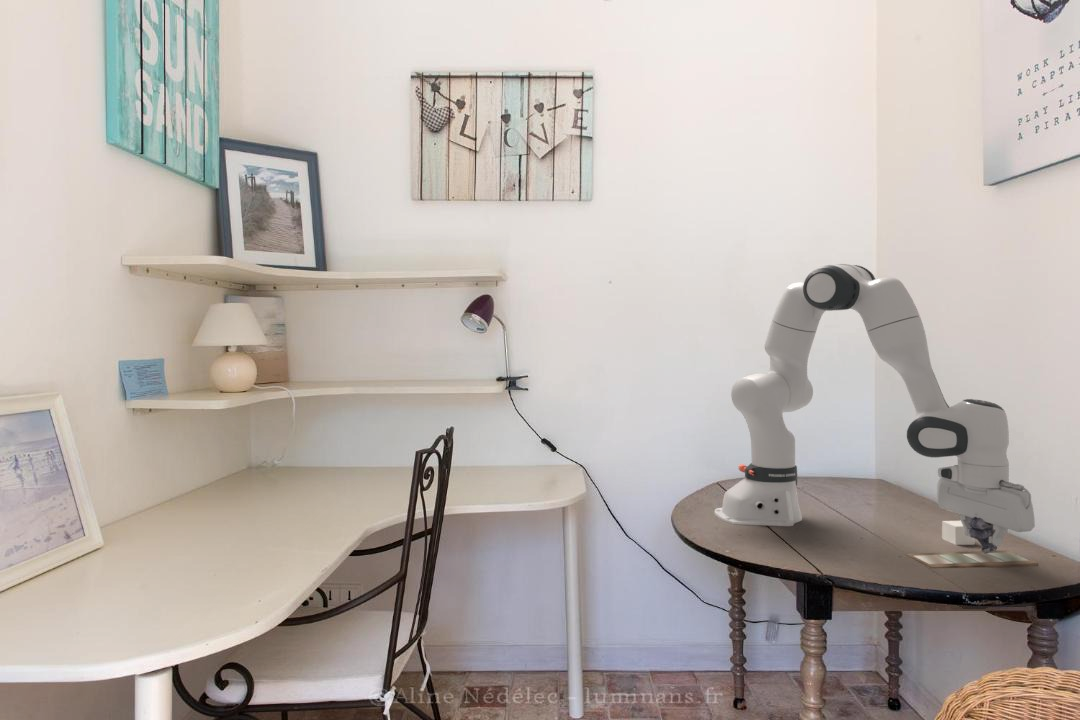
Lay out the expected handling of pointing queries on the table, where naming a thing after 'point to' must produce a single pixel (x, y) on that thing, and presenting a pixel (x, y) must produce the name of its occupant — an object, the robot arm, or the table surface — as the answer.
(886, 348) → the robot arm
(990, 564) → the brown rectangular frame
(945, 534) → the cream white cube
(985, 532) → the seashell
